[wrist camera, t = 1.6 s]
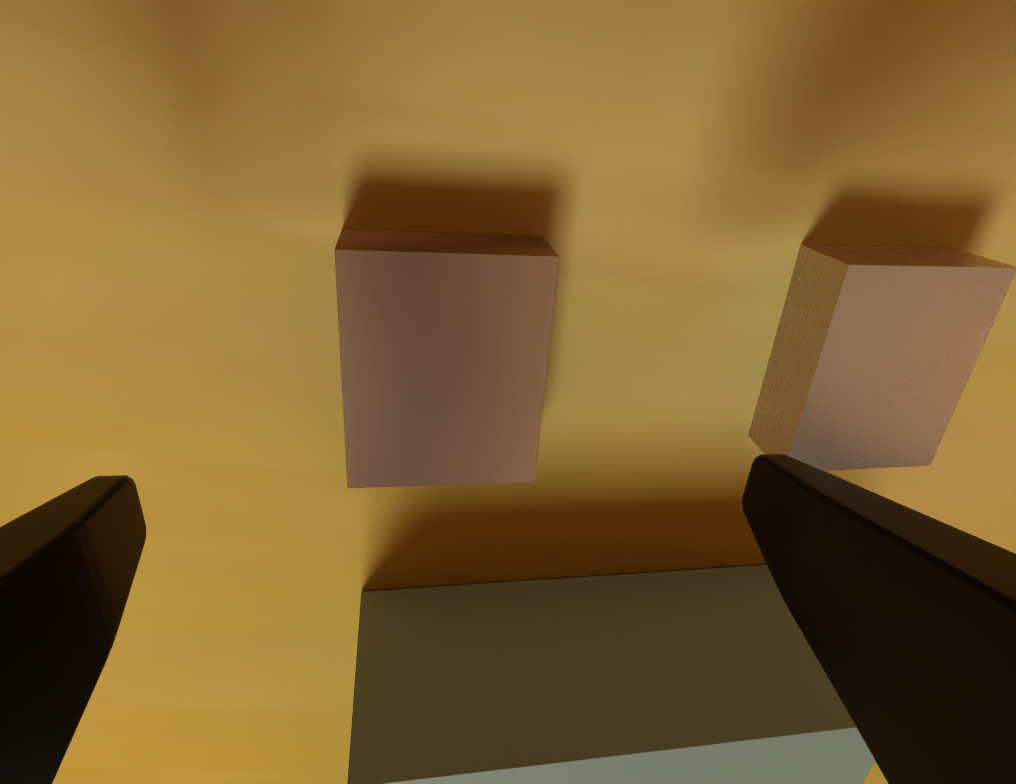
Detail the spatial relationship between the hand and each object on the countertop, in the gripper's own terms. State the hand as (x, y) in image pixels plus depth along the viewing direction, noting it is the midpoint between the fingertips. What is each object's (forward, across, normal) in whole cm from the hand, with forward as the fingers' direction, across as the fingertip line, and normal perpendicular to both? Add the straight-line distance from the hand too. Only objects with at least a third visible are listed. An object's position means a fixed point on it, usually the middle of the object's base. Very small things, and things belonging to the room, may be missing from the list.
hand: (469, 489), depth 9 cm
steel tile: (+6, -10, 0) cm, 11 cm away
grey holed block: (+5, -4, +17) cm, 18 cm away
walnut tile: (+6, 0, 0) cm, 6 cm away
